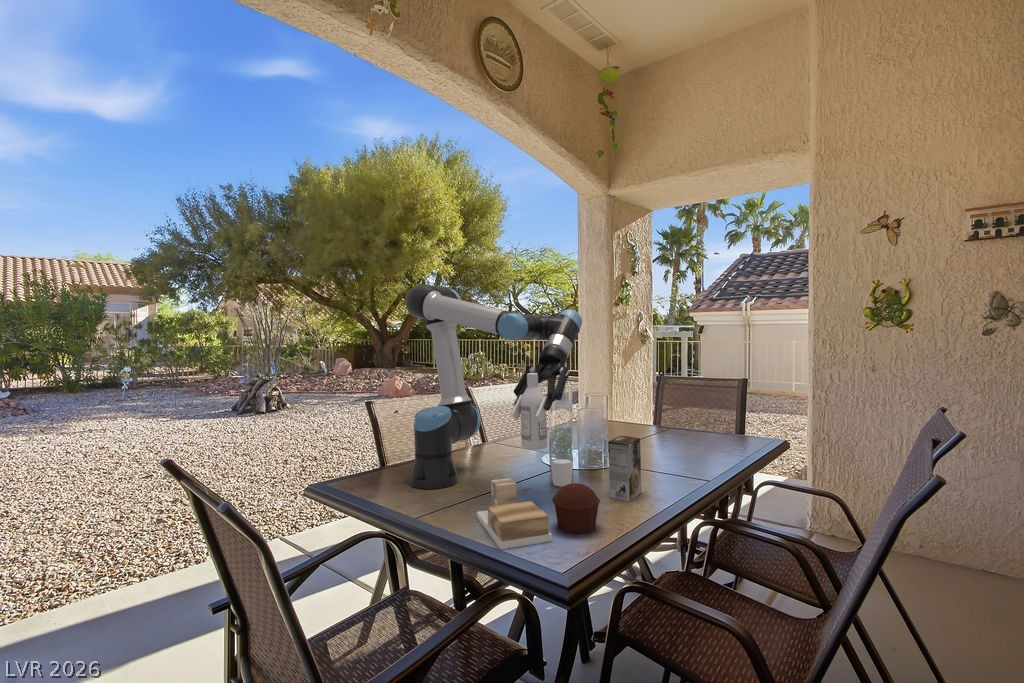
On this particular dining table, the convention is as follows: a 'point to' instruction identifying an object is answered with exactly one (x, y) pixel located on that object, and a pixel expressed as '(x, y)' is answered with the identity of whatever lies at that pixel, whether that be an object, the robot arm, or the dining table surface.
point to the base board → (483, 519)
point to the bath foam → (532, 416)
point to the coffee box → (624, 468)
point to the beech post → (503, 492)
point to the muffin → (576, 509)
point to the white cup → (561, 472)
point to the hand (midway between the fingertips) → (526, 417)
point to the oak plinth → (518, 520)
